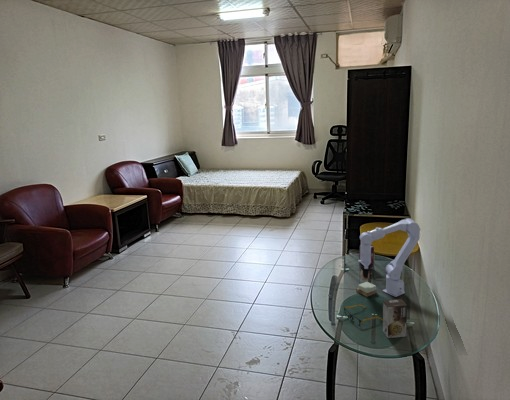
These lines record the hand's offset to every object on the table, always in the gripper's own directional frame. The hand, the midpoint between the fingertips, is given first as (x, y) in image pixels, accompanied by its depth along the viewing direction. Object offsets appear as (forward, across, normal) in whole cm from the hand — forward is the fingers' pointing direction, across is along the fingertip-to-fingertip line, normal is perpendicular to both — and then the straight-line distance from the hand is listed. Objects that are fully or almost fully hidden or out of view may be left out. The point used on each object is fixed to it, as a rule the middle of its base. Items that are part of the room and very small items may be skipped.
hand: (365, 275), depth 219 cm
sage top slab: (+8, 0, +1) cm, 9 cm away
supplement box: (+11, -35, +2) cm, 36 cm away
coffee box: (+11, +42, +11) cm, 44 cm away
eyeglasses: (+11, +28, -3) cm, 30 cm away
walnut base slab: (+11, 0, +1) cm, 11 cm away
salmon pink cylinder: (+1, 0, 0) cm, 1 cm away
